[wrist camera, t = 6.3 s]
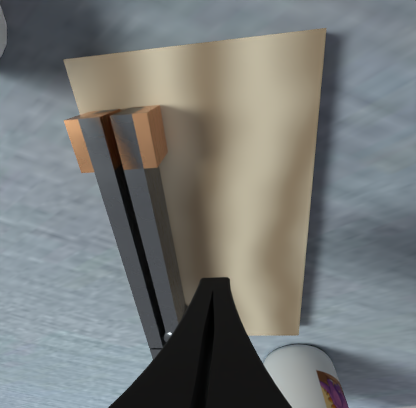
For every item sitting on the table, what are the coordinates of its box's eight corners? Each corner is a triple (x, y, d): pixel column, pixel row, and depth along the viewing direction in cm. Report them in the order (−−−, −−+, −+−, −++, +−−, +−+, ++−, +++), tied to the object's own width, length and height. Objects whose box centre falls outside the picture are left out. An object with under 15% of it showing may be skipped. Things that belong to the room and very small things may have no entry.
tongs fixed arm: (150, 105, 16) (136, 113, 14) (193, 333, 26) (189, 363, 24) (89, 111, 17) (63, 120, 14) (153, 333, 27) (145, 363, 24)
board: (318, 31, 15) (326, 27, 14) (294, 322, 27) (298, 335, 26) (75, 59, 17) (63, 59, 16) (151, 323, 28) (148, 335, 27)
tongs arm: (159, 104, 16) (146, 112, 14) (196, 316, 25) (192, 345, 22) (124, 108, 17) (104, 116, 14) (172, 316, 25) (165, 345, 23)
